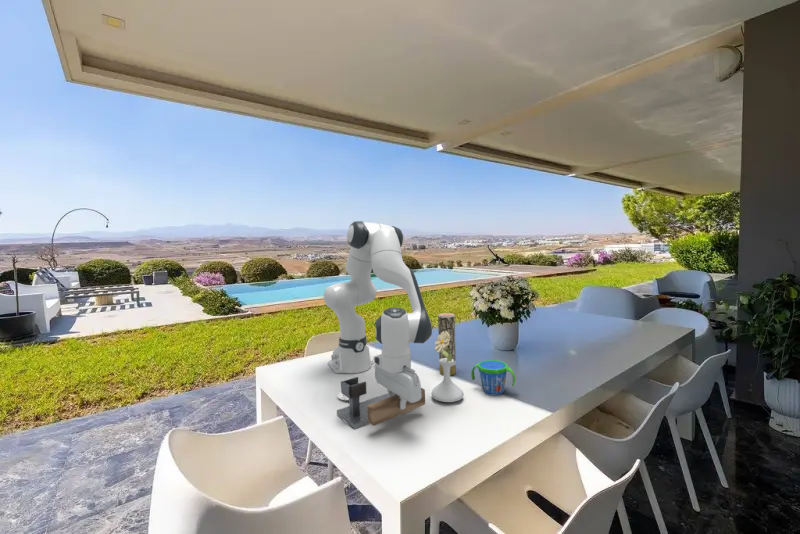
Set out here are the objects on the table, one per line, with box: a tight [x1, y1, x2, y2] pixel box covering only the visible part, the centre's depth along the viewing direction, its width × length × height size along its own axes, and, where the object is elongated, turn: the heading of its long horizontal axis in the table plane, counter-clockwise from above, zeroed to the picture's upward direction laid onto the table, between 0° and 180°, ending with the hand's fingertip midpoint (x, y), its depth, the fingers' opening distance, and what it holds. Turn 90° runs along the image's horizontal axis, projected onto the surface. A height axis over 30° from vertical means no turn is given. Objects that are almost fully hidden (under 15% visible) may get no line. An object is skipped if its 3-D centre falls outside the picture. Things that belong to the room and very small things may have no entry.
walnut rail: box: [367, 387, 426, 427], centre depth 111 cm, size 3×20×5 cm, turn 128°
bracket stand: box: [336, 376, 397, 430], centre depth 121 cm, size 12×25×12 cm, turn 126°
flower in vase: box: [430, 331, 464, 403], centre depth 126 cm, size 13×11×25 cm
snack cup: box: [470, 359, 516, 396], centre depth 132 cm, size 16×10×10 cm
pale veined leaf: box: [337, 390, 345, 401], centre depth 132 cm, size 8×12×2 cm, turn 27°
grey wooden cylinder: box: [437, 312, 457, 377], centre depth 151 cm, size 7×7×25 cm
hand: (397, 405), depth 111 cm, fingers closed on walnut rail, 3 cm apart
